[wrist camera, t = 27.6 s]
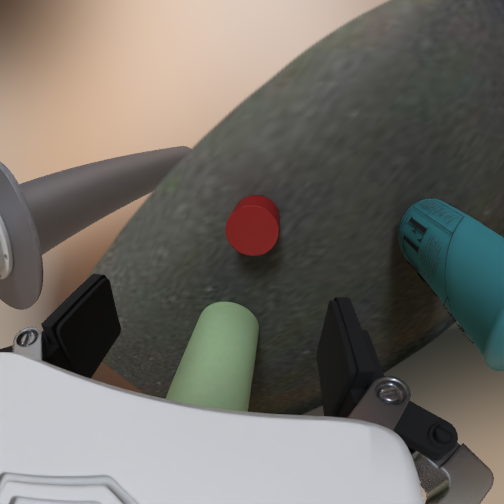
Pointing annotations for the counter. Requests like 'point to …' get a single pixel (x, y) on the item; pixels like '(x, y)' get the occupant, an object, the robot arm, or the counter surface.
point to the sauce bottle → (218, 359)
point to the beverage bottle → (460, 270)
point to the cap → (253, 226)
